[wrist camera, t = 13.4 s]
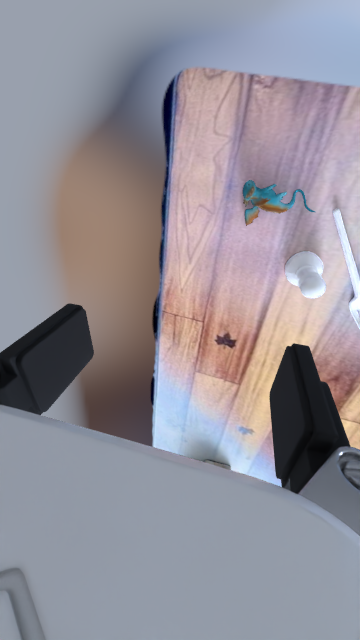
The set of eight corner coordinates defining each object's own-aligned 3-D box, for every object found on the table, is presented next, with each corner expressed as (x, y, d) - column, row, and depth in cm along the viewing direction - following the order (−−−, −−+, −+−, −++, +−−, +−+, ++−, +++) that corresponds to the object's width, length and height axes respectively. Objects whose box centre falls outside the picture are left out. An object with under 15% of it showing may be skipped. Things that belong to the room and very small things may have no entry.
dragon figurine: (306, 142, 28) (243, 170, 28) (330, 200, 28) (267, 227, 28) (284, 175, 35) (233, 197, 35) (303, 221, 35) (252, 243, 35)
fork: (348, 202, 31) (353, 203, 29) (379, 323, 38) (385, 329, 36) (320, 215, 32) (324, 217, 31) (356, 329, 39) (360, 336, 38)
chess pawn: (323, 249, 34) (342, 270, 27) (318, 281, 37) (335, 309, 29) (285, 252, 36) (294, 273, 28) (283, 283, 38) (291, 310, 31)
